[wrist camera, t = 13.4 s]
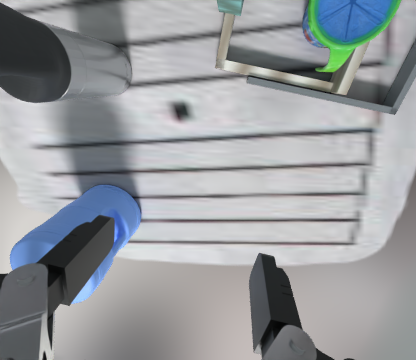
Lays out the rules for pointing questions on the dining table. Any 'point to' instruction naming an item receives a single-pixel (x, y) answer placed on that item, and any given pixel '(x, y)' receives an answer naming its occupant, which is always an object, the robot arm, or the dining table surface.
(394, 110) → the rectangular frame
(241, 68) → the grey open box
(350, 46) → the snack cup
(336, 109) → the dining table surface
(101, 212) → the water jug
